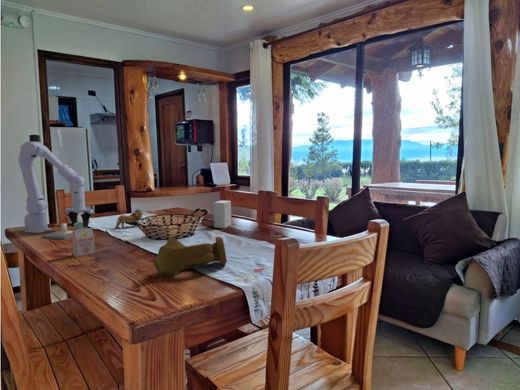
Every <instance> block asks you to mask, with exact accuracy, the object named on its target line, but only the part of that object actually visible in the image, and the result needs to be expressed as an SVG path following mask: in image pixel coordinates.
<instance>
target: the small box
mask: <svg viewBox="0 0 520 390" xmlns="http://www.w3.org/2000/svg"><path fill="white" fill-rule="evenodd" d="M213 224H214V225H213V228H220V229H226V228H228V227H230V226H232V201H231V200H217V201H214V202H213Z"/></svg>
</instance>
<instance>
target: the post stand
mask: <svg viewBox="0 0 520 390" xmlns="http://www.w3.org/2000/svg"><path fill="white" fill-rule="evenodd" d="M73 230H74V229H68V224H67V223H66V222H65V223H60V230H57V231H53V232H50V233H46V234H43V235H42V239H51V240H52V239H54V240H67V239H71V238H73Z"/></svg>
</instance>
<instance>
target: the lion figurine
mask: <svg viewBox="0 0 520 390" xmlns="http://www.w3.org/2000/svg"><path fill="white" fill-rule="evenodd" d="M143 214H144V213H143V210H142V209H139V208H137V209H136V210H135V211H134V212H132V213H131V214H130V215H126V214H125V215H120V216H119V217H118V218H117V220H116V225H115V227H114V229H120V228H121V227H122V229H123V230H124V229H127V227H126V226H125V223H132V227H135V228H138V227H137V226H138V225H137V226H136V225H134V224H133V222H134V221H137V222H139V221H138V220H140V221H141V219H142V217H143ZM120 225H121V227H120Z"/></svg>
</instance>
